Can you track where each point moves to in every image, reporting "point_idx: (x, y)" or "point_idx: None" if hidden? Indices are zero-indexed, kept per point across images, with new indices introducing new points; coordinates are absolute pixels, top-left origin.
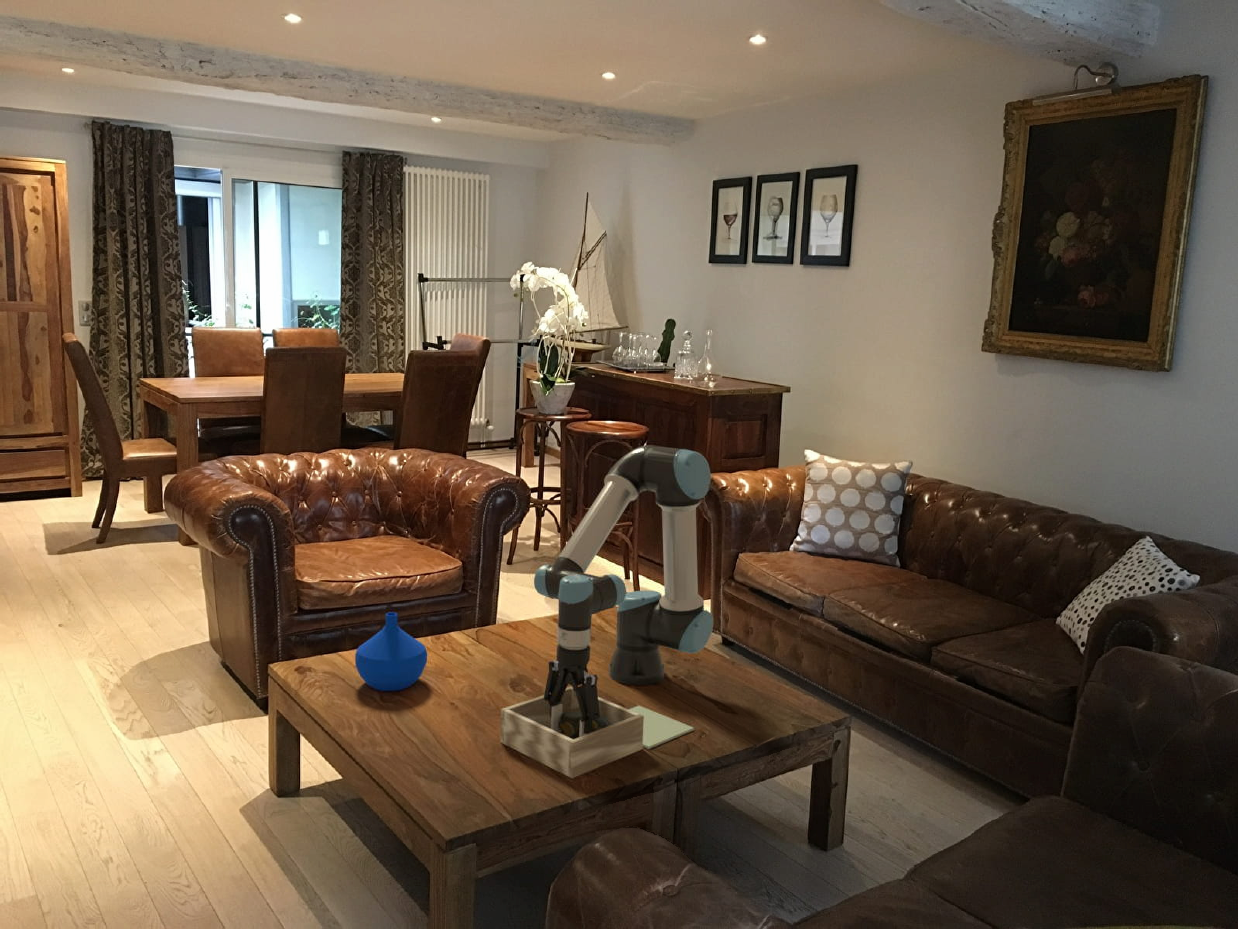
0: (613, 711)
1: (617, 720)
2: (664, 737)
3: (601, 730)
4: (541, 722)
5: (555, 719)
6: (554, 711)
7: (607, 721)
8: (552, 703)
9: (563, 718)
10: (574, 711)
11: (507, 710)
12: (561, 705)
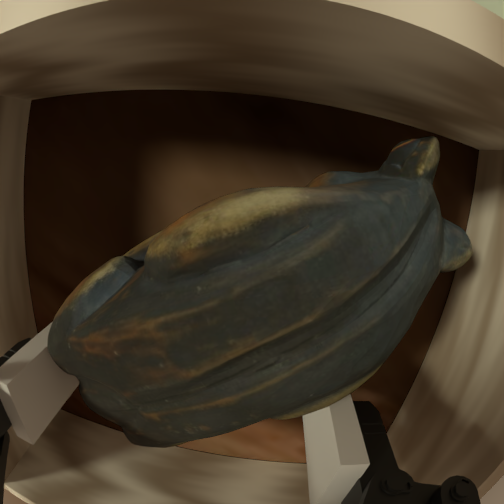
0: (394, 50)
1: (420, 88)
2: (499, 6)
3: (486, 487)
4: (5, 288)
5: (68, 382)
6: (43, 423)
7: (418, 226)
8: (6, 449)
9: (124, 429)
10: (97, 361)
11: (10, 490)
12: (10, 392)
